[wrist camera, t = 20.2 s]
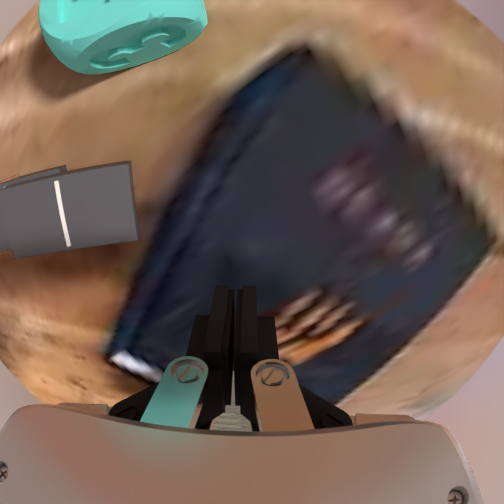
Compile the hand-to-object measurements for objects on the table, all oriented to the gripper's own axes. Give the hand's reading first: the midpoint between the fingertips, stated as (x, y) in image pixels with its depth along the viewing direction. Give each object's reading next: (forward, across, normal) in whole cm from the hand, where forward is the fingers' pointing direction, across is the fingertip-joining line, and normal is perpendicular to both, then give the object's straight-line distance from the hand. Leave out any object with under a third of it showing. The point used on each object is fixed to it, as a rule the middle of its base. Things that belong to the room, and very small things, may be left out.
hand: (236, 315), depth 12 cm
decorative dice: (+10, +7, -17) cm, 21 cm away
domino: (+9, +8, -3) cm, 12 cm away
